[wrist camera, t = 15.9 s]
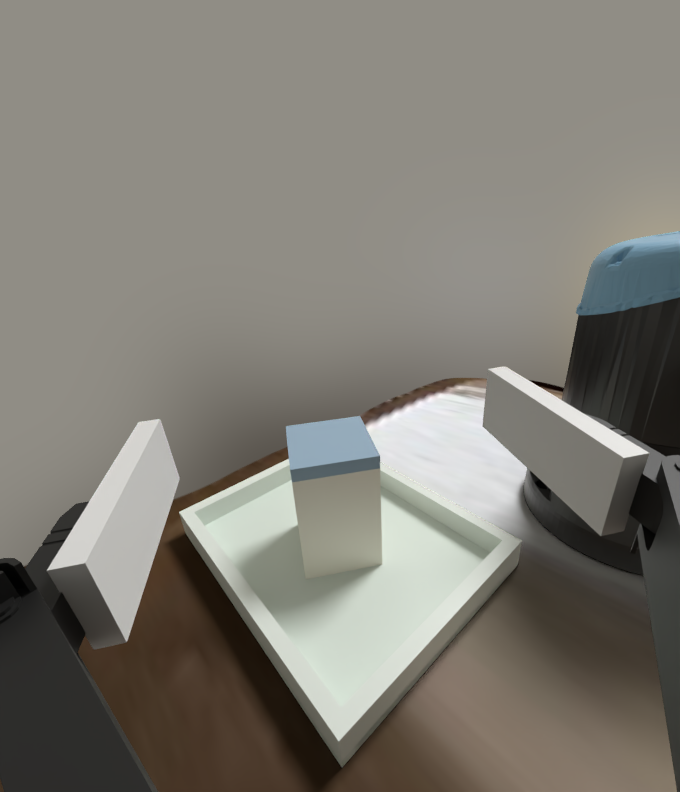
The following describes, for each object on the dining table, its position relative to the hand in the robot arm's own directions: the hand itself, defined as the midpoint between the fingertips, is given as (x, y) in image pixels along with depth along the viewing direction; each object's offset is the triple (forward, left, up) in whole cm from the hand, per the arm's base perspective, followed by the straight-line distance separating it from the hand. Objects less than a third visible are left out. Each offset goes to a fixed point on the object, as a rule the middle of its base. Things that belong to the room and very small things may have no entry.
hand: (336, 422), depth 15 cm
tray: (-6, -9, -18) cm, 20 cm away
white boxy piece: (-6, -9, -17) cm, 20 cm away
